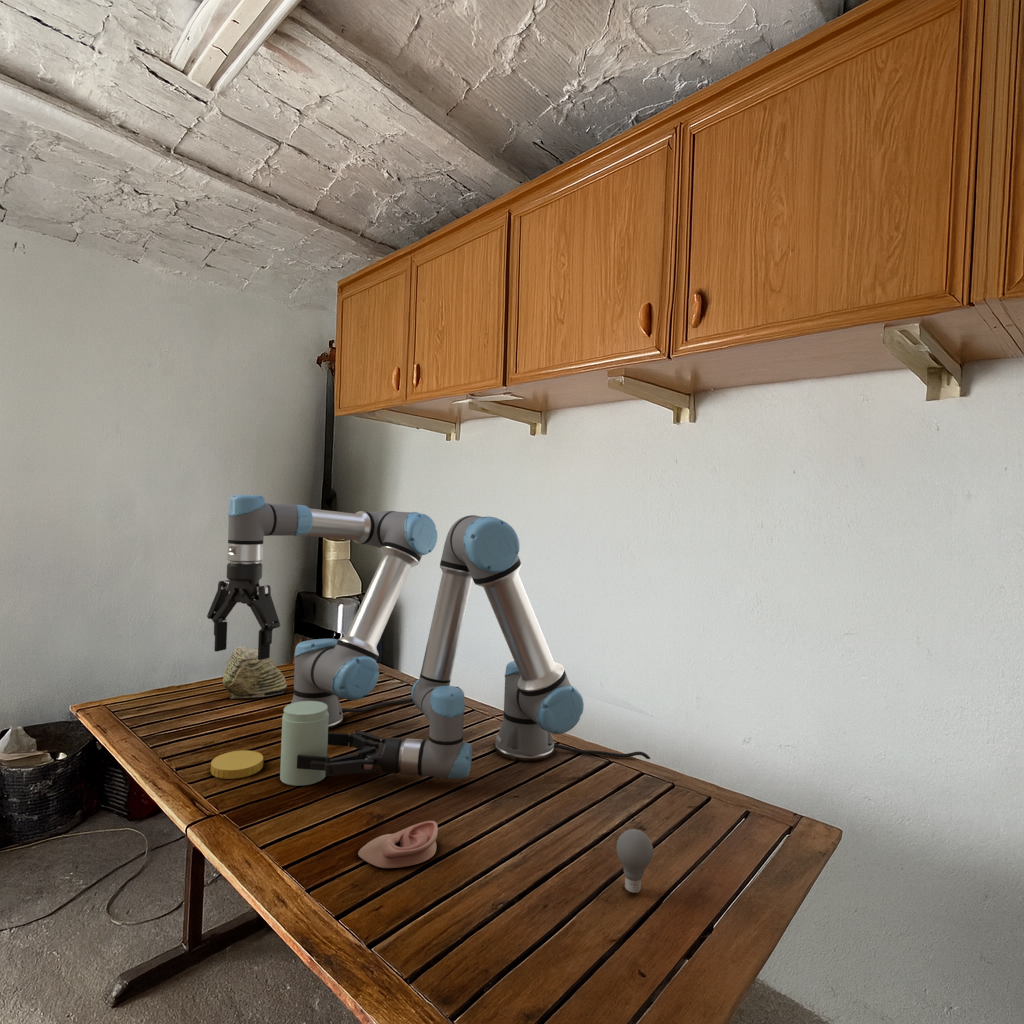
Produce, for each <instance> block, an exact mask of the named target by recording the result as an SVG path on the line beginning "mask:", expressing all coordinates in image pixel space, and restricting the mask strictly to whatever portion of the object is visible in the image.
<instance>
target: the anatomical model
mask: <svg viewBox="0 0 1024 1024" xmlns="http://www.w3.org/2000/svg"><path fill="white" fill-rule="evenodd" d="M438 833H439V826H438V823H437V822H436V821H435V820H426V821H422V822H419V823H416V824H413V825H410V826H408V827H406V828H403V829H401V830H399V831H397V832H394V833H387V834H382V835H380V836H377V837H375V838H373V839H372V840H370V841H368V842H367V843H366V844H365V845H363V846H361V848H360V849H359V850H358V852H357V855H358V857H359V858H360V859H362V860H363V861H365V862H366V863H368V864H370V865H372V866H375V867H377V868H381V869H395V868H404V867H410V866H415V865H418V864H421V863H424V862H426V861H428V860H430V859H431V858H433V857H434V855H435V854H436V852H437V841H436V840H437V838H438Z"/></svg>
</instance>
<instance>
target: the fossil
mask: <svg viewBox="0 0 1024 1024" xmlns="http://www.w3.org/2000/svg"><path fill="white" fill-rule="evenodd" d="M222 676H223V677H222V685H223V687H224V688H225V690H226V691H228V693H229V698H230V699H250V698H264V697H271V696H275V695H281V694H284V693H285V691H286V689H287V687H288V686H287V680H286V678H285V676H284V674H283V673H282V672H281V669H279V668H278V667H277V665H276V663H275V662H274V660H273V659H272V658H271V657H270V658H266V659H263V660H258V648H251V647H247V646H246V647H245V646H238V647H237V648H236V649H235V650H233V651H232V653H231V656H230V657H229V659H228V660H227V663H226V666H225V668H224V671H223V675H222Z"/></svg>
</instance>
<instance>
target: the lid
mask: <svg viewBox="0 0 1024 1024" xmlns="http://www.w3.org/2000/svg"><path fill="white" fill-rule="evenodd" d="M264 760H265V759H264V755H263V754H262V753H260V752H258V751H255V750H248V749H247V750H246V749H245V750H243V749H242V750H234V751H228V752H225V753H222V754H219V755H217V756H216V757H214V758H213V759H212V760H211V762H210V769H209V771H210V774H211V775H212V776H213V777H215V778H217V779H225V780H231V779H241V778H245V777H246V778H247V777H250V776H253V775H254V774H257V773H259V772H260V771H261V770H262V769H263V767H264Z"/></svg>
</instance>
